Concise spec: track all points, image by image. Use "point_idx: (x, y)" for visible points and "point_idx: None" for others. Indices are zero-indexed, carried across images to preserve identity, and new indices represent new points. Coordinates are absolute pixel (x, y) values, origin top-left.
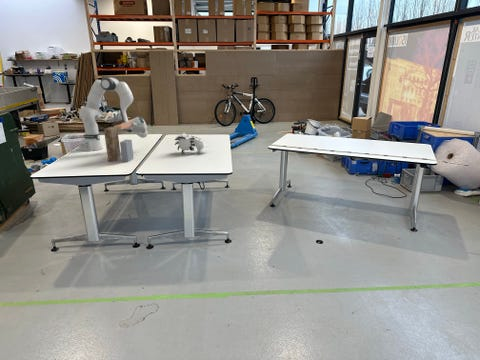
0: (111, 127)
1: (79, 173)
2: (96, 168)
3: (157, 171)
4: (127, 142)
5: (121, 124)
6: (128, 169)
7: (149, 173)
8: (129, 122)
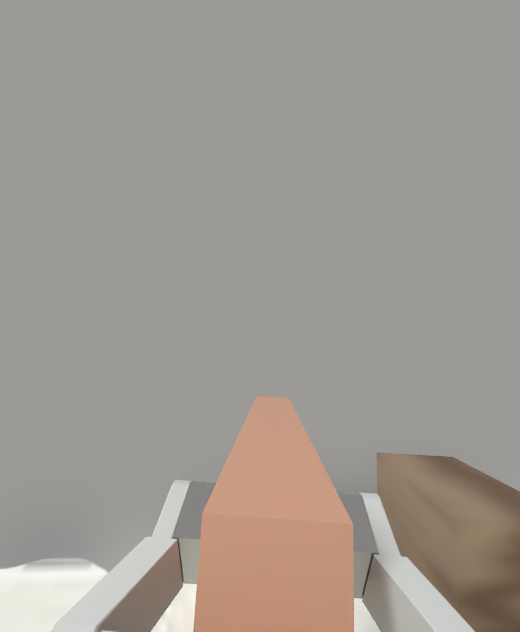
0: (499, 501)
1: None
2: (368, 620)
3: (25, 586)
4: None
5: (280, 404)
6: (180, 610)
7: (76, 563)
8: (240, 432)
